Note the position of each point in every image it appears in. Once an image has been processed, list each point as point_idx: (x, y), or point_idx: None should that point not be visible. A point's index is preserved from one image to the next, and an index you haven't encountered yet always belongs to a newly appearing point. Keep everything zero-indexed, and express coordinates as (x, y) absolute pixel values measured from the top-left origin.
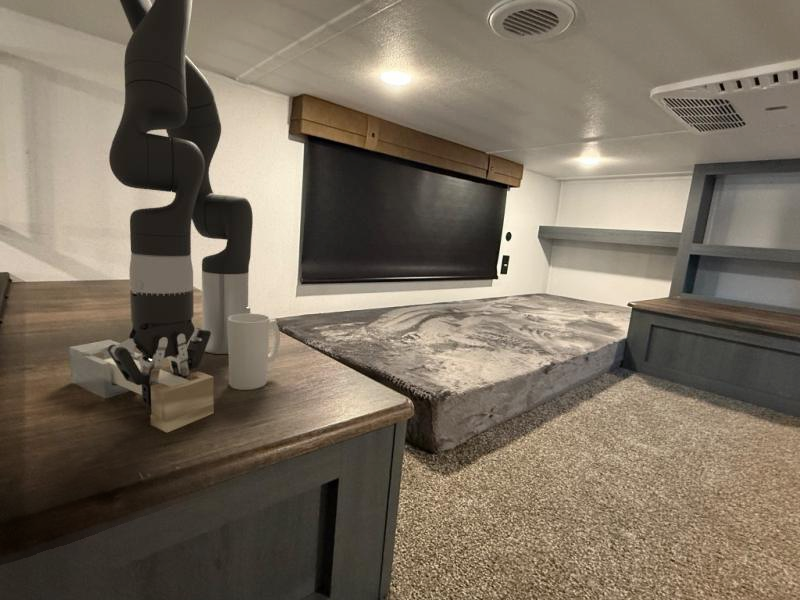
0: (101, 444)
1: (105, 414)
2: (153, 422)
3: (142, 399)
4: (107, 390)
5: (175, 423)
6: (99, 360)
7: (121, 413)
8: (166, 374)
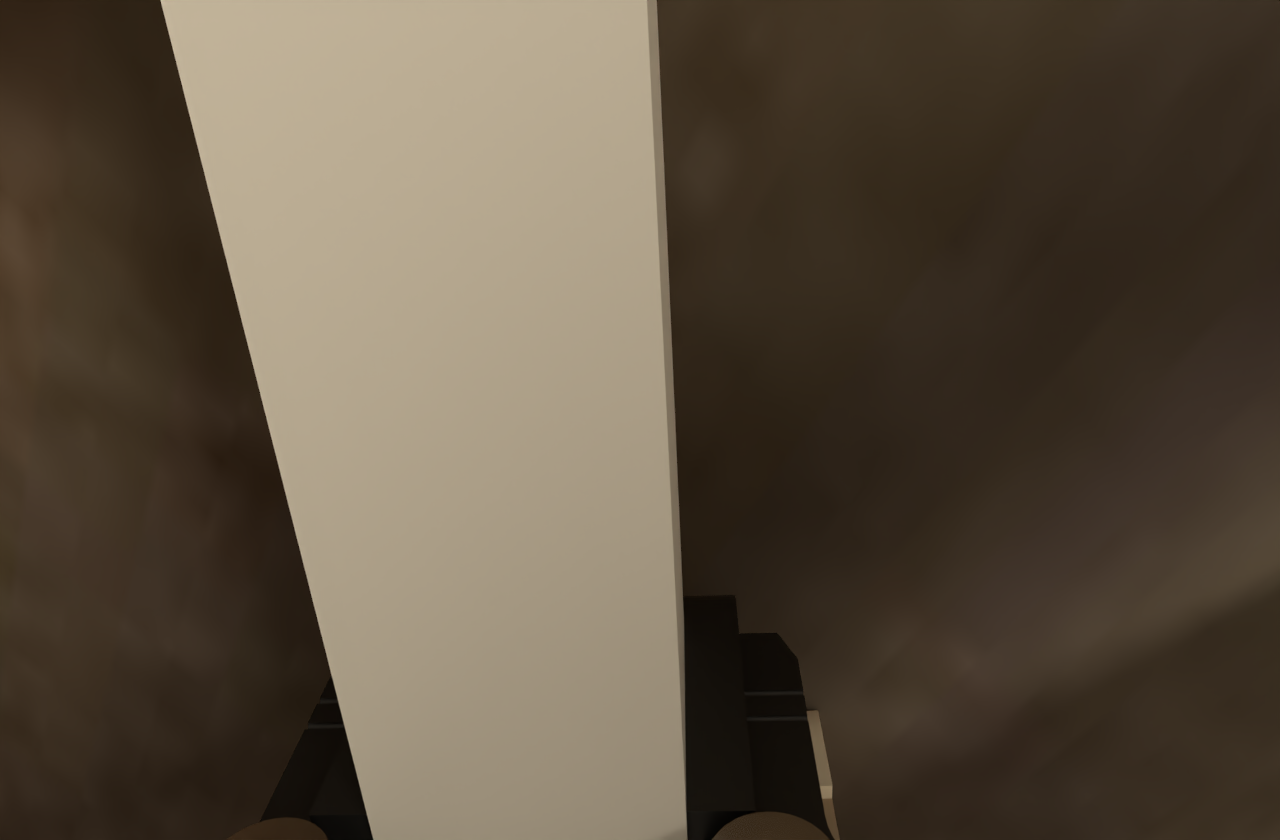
0: (28, 723)
1: (136, 263)
2: None
3: (327, 690)
4: None
5: None
6: None
7: None
8: (621, 823)
